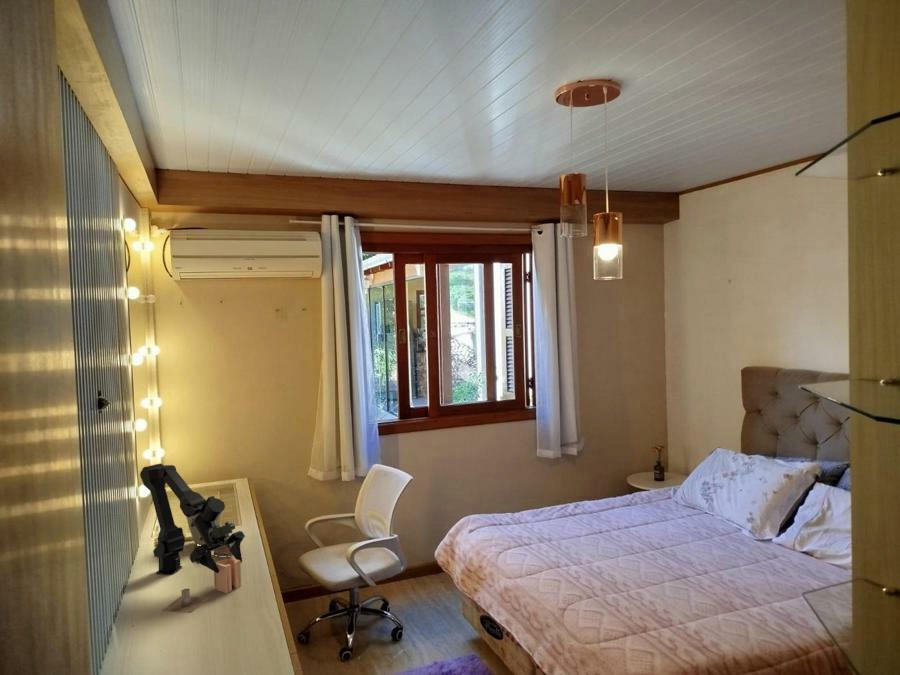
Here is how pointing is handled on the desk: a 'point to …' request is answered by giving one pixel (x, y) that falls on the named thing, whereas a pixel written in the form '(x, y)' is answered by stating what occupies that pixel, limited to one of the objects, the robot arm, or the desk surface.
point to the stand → (185, 603)
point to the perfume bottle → (223, 550)
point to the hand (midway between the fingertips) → (230, 567)
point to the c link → (227, 575)
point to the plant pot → (195, 532)
